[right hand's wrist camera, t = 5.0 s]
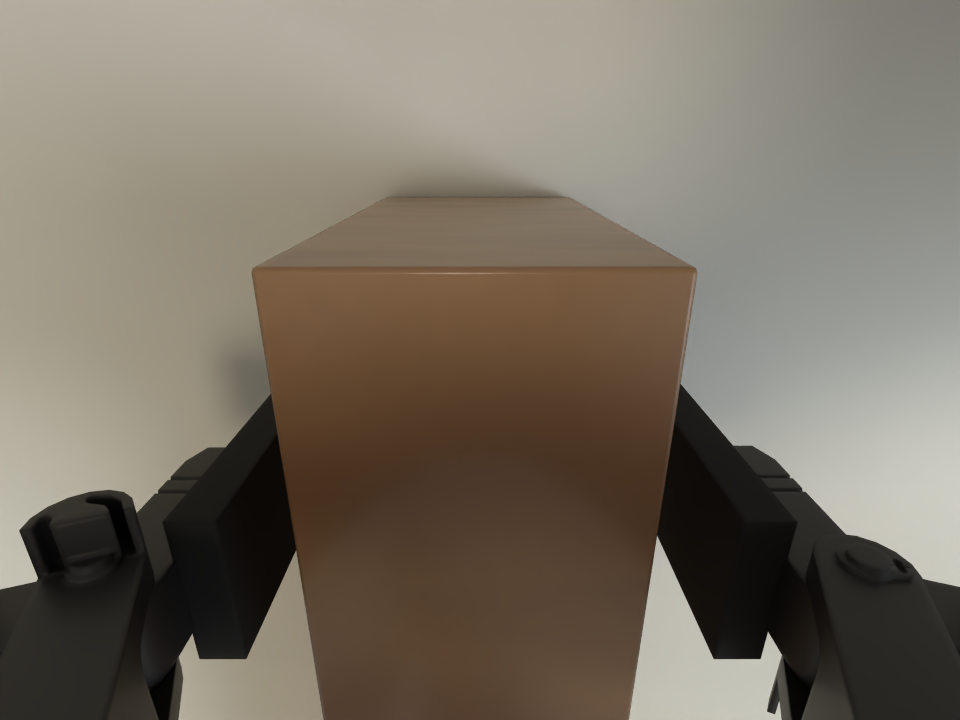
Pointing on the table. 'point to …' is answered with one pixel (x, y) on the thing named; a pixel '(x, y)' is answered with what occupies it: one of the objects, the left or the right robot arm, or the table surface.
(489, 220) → the beam
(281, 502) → the right robot arm
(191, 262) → the table surface
